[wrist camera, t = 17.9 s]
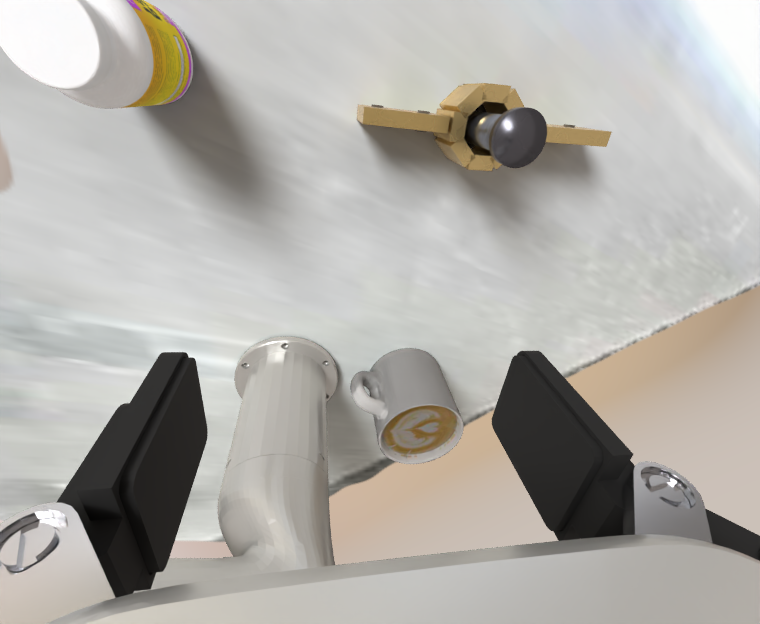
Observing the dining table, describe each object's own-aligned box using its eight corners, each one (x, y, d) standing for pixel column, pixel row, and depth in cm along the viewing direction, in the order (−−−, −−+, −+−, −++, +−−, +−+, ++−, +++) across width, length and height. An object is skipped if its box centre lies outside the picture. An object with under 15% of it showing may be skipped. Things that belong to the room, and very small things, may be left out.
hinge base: (564, 167, 38) (595, 177, 34) (430, 158, 36) (445, 168, 32) (586, 96, 35) (623, 97, 31) (440, 81, 33) (459, 80, 28)
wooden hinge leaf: (433, 111, 34) (450, 114, 29) (431, 129, 34) (446, 135, 30) (358, 102, 32) (364, 104, 28) (356, 121, 33) (362, 126, 29)
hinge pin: (480, 148, 36) (537, 169, 27) (443, 145, 35) (488, 166, 26) (489, 104, 34) (554, 110, 25) (450, 100, 33) (502, 105, 24)
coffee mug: (453, 370, 51) (481, 426, 42) (404, 413, 54) (421, 474, 45) (383, 321, 45) (398, 375, 36) (332, 373, 48) (335, 434, 39)
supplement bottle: (197, 20, 28) (121, -24, 17) (194, 114, 31) (128, 128, 20) (96, -15, 26) (-59, -88, 15) (104, 89, 29) (-22, 89, 19)
